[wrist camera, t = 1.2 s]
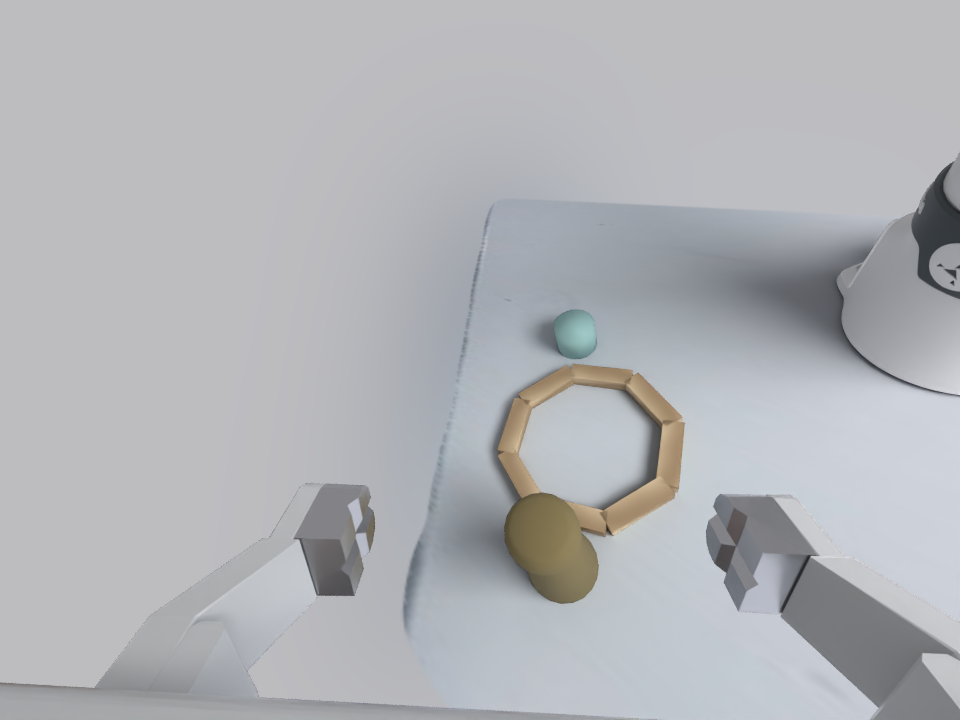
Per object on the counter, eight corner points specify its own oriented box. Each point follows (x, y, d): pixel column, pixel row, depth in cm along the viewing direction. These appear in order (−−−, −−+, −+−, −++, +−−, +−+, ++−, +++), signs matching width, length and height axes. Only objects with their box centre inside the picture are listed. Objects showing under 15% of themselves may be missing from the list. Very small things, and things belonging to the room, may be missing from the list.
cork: (519, 536, 38) (485, 494, 29) (584, 517, 37) (568, 469, 29) (536, 612, 34) (503, 588, 26) (609, 593, 33) (599, 562, 25)
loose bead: (582, 323, 50) (579, 303, 48) (604, 346, 47) (602, 326, 45) (551, 342, 50) (546, 322, 47) (571, 365, 47) (567, 346, 45)
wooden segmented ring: (607, 348, 47) (607, 341, 46) (724, 467, 36) (727, 461, 35) (479, 422, 46) (476, 417, 45) (560, 568, 35) (558, 564, 34)
